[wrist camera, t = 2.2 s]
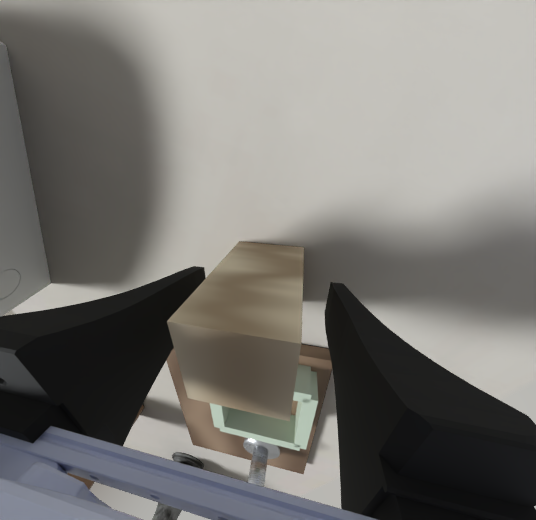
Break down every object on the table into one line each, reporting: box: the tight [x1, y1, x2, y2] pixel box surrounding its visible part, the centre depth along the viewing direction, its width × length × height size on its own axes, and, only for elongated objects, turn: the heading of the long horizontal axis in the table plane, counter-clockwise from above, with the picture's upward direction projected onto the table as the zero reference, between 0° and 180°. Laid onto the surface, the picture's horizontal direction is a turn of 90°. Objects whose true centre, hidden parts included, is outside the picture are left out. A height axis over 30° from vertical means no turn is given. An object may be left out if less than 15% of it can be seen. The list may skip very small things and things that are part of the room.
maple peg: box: [167, 241, 304, 421], centre depth 9 cm, size 4×4×7 cm
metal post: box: [243, 437, 280, 487], centre depth 19 cm, size 4×4×4 cm
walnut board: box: [167, 344, 332, 474], centre depth 19 cm, size 14×20×1 cm
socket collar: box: [210, 364, 318, 451], centre depth 16 cm, size 8×8×2 cm
